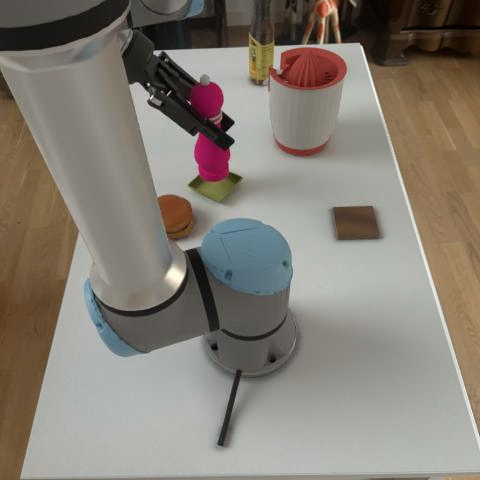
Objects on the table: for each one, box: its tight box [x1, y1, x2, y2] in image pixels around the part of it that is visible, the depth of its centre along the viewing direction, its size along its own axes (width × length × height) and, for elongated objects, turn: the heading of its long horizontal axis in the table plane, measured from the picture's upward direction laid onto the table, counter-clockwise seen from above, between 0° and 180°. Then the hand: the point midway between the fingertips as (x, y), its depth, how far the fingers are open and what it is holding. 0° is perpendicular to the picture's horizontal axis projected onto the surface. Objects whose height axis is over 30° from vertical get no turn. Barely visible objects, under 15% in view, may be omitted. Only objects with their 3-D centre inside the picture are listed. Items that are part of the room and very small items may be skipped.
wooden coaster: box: [331, 205, 380, 241], centre depth 87 cm, size 8×8×1 cm
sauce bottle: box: [248, 0, 275, 86], centre depth 108 cm, size 6×6×20 cm
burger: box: [157, 194, 195, 240], centre depth 88 cm, size 10×9×5 cm
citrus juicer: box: [261, 46, 348, 157], centre depth 94 cm, size 16×17×20 cm
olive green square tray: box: [187, 170, 243, 203], centre depth 94 cm, size 9×9×2 cm
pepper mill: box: [189, 74, 232, 182], centre depth 83 cm, size 7×7×20 cm
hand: (229, 136), depth 84 cm, fingers closed on pepper mill, 5 cm apart
